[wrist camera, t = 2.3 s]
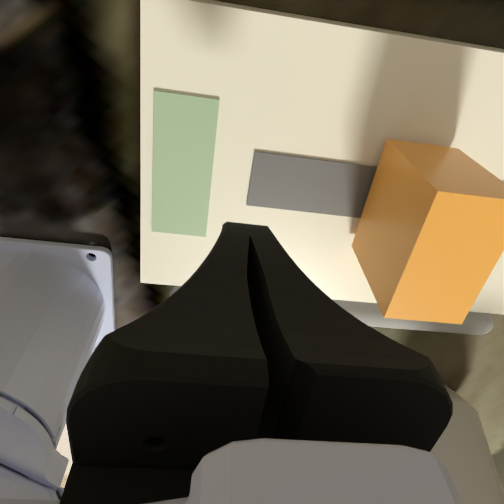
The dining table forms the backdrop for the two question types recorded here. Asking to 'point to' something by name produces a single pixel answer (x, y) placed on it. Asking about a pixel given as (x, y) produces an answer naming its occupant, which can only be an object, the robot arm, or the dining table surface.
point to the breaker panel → (294, 131)
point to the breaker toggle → (429, 232)
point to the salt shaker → (468, 456)
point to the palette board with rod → (373, 317)
